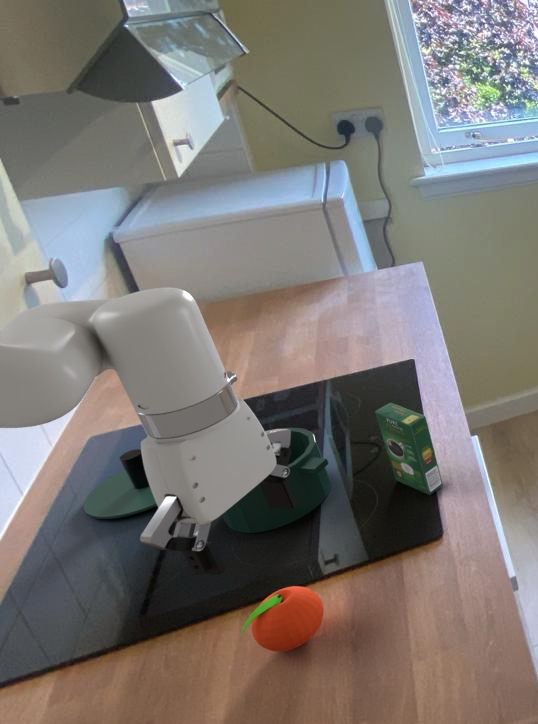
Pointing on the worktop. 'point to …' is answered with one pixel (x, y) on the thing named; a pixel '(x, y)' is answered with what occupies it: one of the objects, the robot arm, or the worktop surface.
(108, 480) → the lid
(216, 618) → the worktop surface
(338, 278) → the worktop surface
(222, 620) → the worktop surface
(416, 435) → the coffee box
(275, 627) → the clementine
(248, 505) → the pot
